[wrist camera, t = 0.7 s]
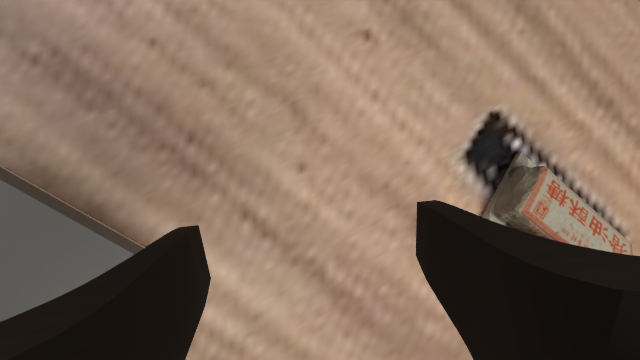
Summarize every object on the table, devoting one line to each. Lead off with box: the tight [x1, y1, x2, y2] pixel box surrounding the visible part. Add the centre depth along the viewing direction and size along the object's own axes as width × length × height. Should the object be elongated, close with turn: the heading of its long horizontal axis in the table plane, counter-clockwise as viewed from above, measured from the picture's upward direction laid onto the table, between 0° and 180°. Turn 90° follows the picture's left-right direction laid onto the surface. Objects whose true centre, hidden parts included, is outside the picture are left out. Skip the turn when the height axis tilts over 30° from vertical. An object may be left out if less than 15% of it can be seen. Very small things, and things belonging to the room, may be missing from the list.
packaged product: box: [482, 152, 633, 255], centre depth 37 cm, size 18×5×10 cm
